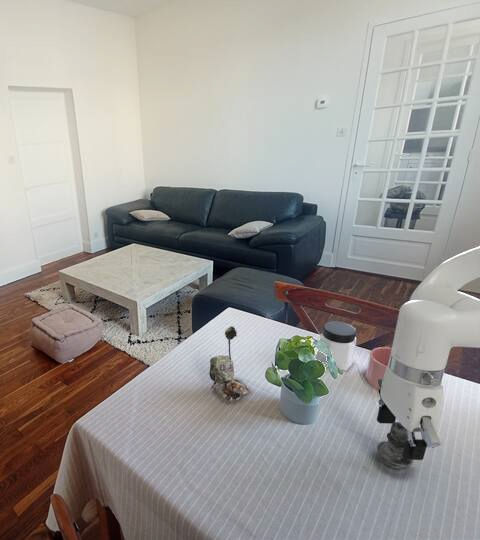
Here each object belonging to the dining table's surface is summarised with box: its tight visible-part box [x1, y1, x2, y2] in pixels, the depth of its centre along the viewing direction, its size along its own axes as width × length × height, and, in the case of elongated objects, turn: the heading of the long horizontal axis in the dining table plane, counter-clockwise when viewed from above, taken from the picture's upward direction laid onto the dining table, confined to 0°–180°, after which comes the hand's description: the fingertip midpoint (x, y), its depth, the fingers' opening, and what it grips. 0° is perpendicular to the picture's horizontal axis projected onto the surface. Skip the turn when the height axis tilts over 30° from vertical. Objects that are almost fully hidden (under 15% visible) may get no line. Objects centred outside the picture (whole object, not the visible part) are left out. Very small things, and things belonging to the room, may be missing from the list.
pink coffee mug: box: [365, 346, 392, 390], centre depth 90 cm, size 14×10×8 cm
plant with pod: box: [208, 325, 249, 402], centre depth 91 cm, size 8×11×20 cm
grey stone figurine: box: [376, 421, 415, 471], centre depth 68 cm, size 6×6×12 cm
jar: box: [317, 320, 357, 371], centre depth 99 cm, size 9×8×12 cm
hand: (398, 439), depth 67 cm, fingers open, 8 cm apart
